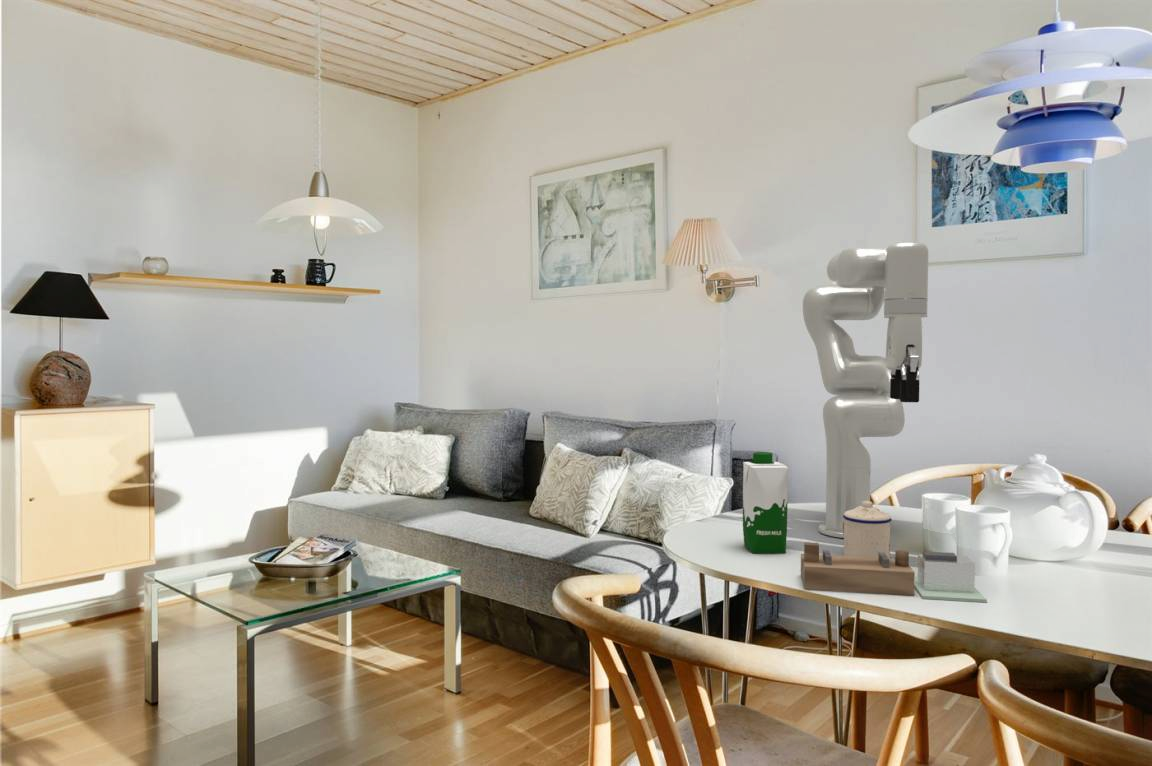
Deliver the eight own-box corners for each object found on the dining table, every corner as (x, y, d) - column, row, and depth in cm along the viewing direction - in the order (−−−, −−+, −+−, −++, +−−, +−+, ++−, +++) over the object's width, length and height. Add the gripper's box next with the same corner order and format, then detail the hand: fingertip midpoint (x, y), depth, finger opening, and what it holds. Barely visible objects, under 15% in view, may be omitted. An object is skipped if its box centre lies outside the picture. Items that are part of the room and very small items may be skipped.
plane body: (800, 575, 148) (801, 537, 147) (903, 580, 144) (904, 542, 144) (804, 589, 139) (804, 549, 138) (914, 595, 135) (914, 554, 135)
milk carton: (779, 543, 171) (780, 451, 171) (791, 554, 162) (792, 457, 162) (738, 544, 171) (739, 451, 170) (749, 554, 162) (750, 457, 161)
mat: (907, 578, 145) (907, 576, 145) (966, 582, 143) (966, 579, 143) (922, 598, 133) (922, 595, 133) (986, 602, 131) (986, 599, 131)
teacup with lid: (901, 563, 156) (902, 504, 155) (862, 567, 153) (862, 507, 152) (861, 549, 167) (862, 494, 167) (824, 552, 164) (825, 496, 164)
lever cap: (917, 581, 141) (918, 549, 141) (965, 584, 140) (966, 551, 140) (924, 590, 137) (924, 556, 136) (974, 592, 135) (974, 559, 135)
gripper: (876, 312, 158) (875, 397, 159) (893, 307, 141) (891, 403, 142) (916, 311, 157) (915, 398, 157) (938, 306, 140) (936, 403, 141)
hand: (904, 400), depth 150 cm, fingers open, 9 cm apart
